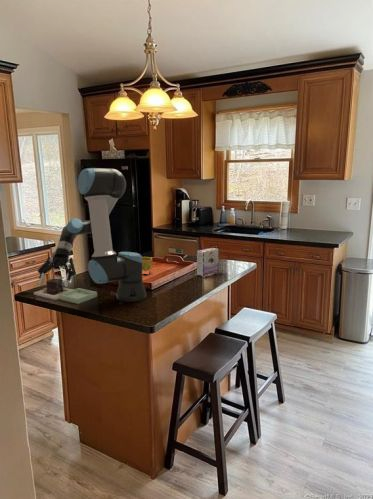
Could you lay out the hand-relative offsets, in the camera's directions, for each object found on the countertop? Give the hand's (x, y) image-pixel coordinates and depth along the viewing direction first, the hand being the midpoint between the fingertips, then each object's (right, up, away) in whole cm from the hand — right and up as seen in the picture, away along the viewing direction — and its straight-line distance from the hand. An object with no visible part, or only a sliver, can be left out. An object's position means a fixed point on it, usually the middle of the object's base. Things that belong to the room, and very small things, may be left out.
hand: (52, 285), depth 195 cm
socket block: (0, -4, +3) cm, 5 cm away
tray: (+15, -6, -4) cm, 16 cm away
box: (0, -5, +3) cm, 6 cm away
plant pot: (+43, +3, +42) cm, 60 cm away
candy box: (+82, +2, +38) cm, 91 cm away
